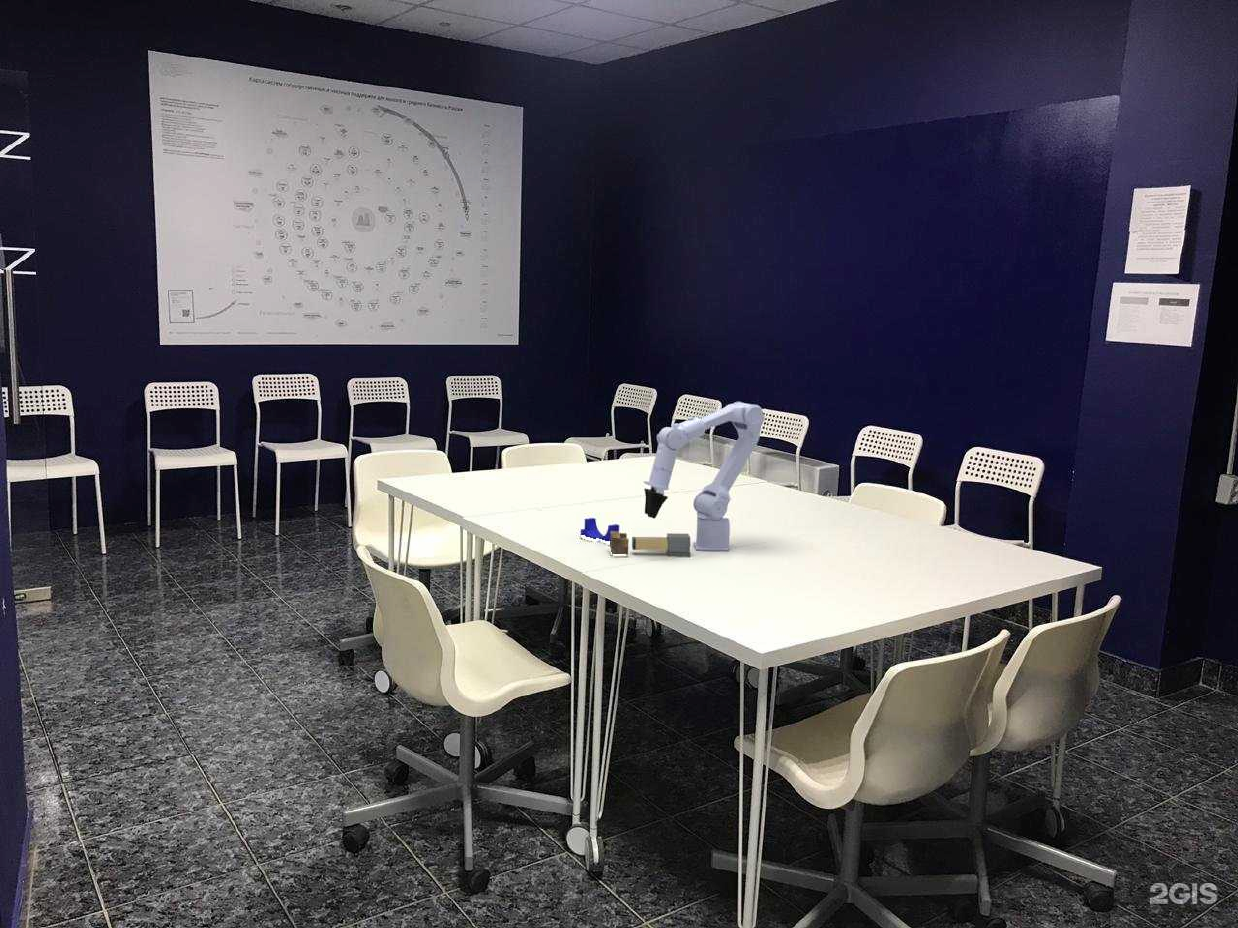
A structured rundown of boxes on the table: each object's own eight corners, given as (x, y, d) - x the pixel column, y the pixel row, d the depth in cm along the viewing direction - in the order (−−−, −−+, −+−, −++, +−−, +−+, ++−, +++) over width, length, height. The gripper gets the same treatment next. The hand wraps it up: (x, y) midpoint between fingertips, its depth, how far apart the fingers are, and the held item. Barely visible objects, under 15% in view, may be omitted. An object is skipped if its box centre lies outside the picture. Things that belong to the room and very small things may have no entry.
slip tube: (682, 547, 284) (683, 537, 283) (684, 550, 281) (684, 539, 280) (631, 547, 282) (632, 536, 282) (632, 549, 279) (633, 539, 279)
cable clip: (580, 539, 298) (580, 519, 297) (591, 537, 301) (592, 517, 300) (607, 547, 289) (607, 526, 288) (618, 545, 292) (619, 525, 291)
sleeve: (687, 551, 285) (687, 533, 285) (689, 556, 279) (690, 538, 279) (666, 551, 285) (666, 532, 284) (668, 556, 279) (669, 537, 278)
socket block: (625, 550, 285) (626, 531, 284) (628, 557, 277) (628, 537, 276) (610, 549, 285) (610, 531, 284) (611, 556, 277) (612, 537, 276)
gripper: (646, 464, 287) (633, 509, 288) (651, 467, 273) (638, 515, 273) (669, 470, 288) (657, 515, 288) (676, 474, 273) (663, 521, 274)
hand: (649, 516), depth 281 cm, fingers open, 7 cm apart
